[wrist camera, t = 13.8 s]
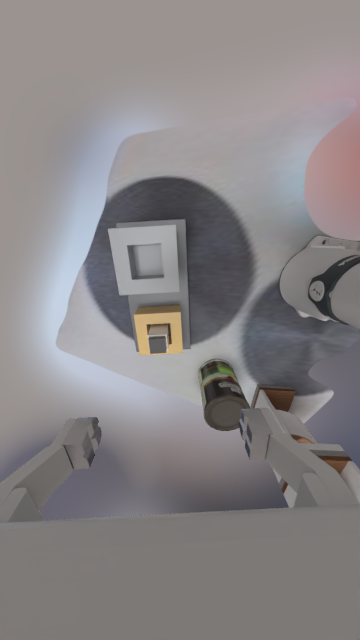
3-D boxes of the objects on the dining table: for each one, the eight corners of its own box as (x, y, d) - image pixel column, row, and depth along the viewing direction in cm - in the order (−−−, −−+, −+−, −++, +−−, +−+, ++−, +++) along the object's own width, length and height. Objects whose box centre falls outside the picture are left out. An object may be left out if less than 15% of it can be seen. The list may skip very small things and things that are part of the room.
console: (184, 220, 40) (188, 208, 27) (189, 345, 51) (194, 379, 38) (118, 224, 40) (91, 214, 27) (138, 348, 51) (125, 383, 38)
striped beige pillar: (281, 415, 61) (400, 608, 29) (248, 413, 61) (332, 608, 28) (291, 386, 57) (445, 575, 24) (257, 384, 56) (367, 574, 24)
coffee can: (207, 353, 52) (218, 390, 39) (239, 366, 54) (260, 405, 41) (191, 381, 56) (196, 423, 43) (222, 392, 57) (235, 436, 44)
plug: (168, 318, 46) (166, 337, 37) (169, 332, 47) (167, 354, 38) (152, 319, 46) (146, 338, 37) (154, 333, 48) (148, 355, 38)
